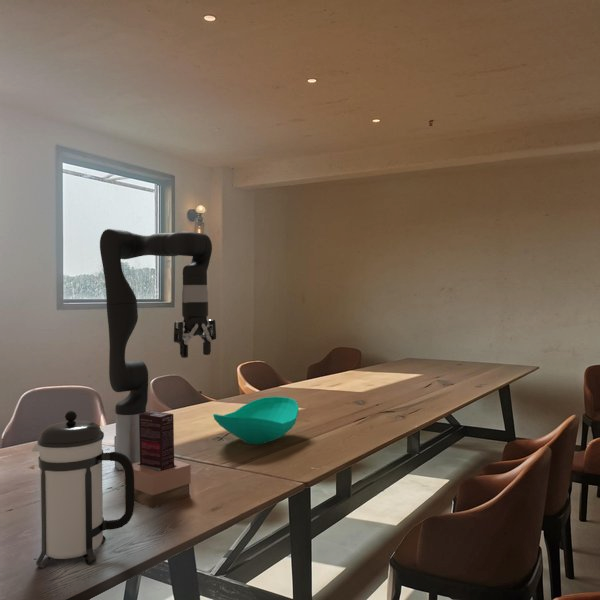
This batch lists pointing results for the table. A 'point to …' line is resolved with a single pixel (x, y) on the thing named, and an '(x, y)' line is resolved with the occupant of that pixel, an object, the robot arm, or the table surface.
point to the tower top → (160, 478)
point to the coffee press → (76, 490)
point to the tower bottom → (161, 496)
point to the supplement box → (156, 440)
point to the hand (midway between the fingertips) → (195, 356)
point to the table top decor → (261, 419)
